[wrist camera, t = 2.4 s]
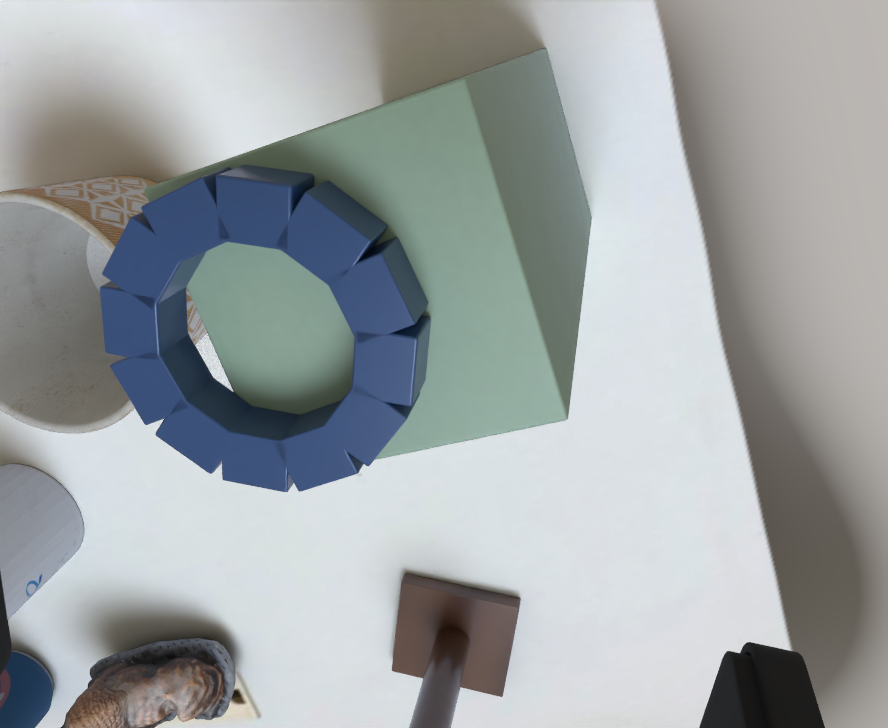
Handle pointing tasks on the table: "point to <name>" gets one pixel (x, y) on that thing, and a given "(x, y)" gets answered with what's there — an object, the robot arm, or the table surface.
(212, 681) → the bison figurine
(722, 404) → the table surface
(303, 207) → the ring
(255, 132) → the table surface
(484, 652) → the stand
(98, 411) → the planter
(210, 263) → the block
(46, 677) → the soda can
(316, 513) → the table surface
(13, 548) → the mug
